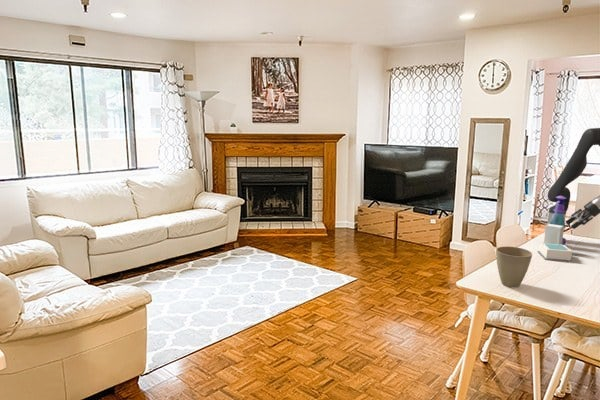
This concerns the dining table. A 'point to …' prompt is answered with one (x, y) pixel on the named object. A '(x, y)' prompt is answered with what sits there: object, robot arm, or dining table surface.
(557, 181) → the robot arm
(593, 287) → the dining table surface
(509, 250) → the plant pot
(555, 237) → the skincare box
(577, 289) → the dining table surface
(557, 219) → the lantern
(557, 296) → the dining table surface
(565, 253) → the block
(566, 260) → the mat
